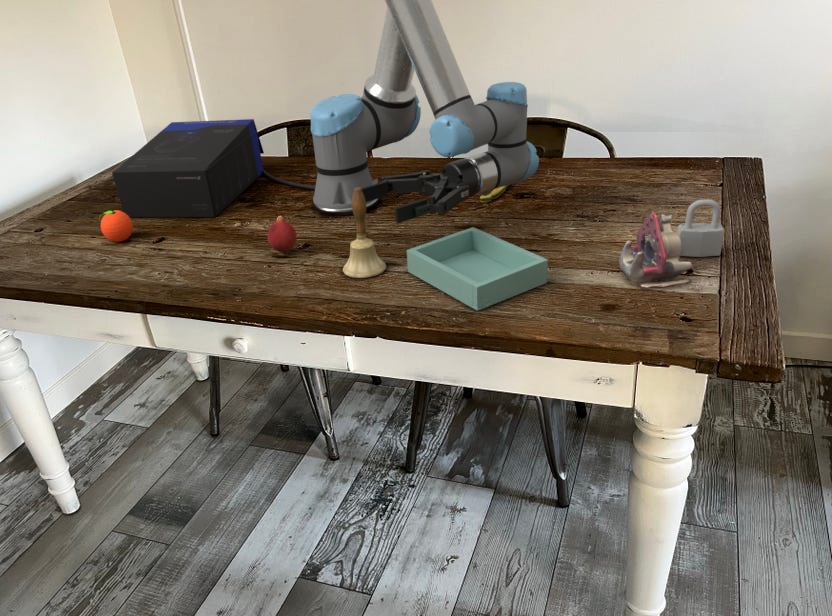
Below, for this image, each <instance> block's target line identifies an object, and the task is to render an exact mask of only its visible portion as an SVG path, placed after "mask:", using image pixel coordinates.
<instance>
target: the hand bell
mask: <svg viewBox="0 0 832 616" xmlns="http://www.w3.org/2000/svg"><path fill="white" fill-rule="evenodd" d="M352 209H353V214H352V215H353V216H354V218H355V223H356V239H355V240H352V241H351V242H350V244H349V245H350V246H349V248H350V249H349V258H348V260H347V262H346V263H345V264H344V265H343V268H342V272H343V274H344V275H345V276H348V277H350V278H355V279H366V278H372V277H376V276H379V275H380V274H382V273H384V272H385V271H386V269H387V265H386V263H385V261H383V259H381V258H380V257H379V256H378V255H379V254H378V253H377V251H376V246H375V242H374V240H373V239H370V238H368V237H367V234H366V233H367V232H366V223H365V221H366V214H367V211H366V200H365V197H364V195H363V192H362V189H361V187H356V188H354V193H353V197H352Z"/></svg>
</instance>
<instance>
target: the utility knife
mask: <svg viewBox="0 0 832 616" xmlns="http://www.w3.org/2000/svg"><path fill="white" fill-rule="evenodd" d="M509 186H510V185H506V186H503V187H500V188H496V189H493V190H490V191H487V192H484V193H483V194H482V195H480V196H479V202H480V203H490V202H492V200H495V199H497V198H499V197H500V196H501V195H502V194H503V193H504V192H505V191H506V189H507V188H508V187H509Z"/></svg>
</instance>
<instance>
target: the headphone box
mask: <svg viewBox="0 0 832 616" xmlns="http://www.w3.org/2000/svg"><path fill="white" fill-rule="evenodd" d="M263 154H265V151H264V148H263V145H262V142H261V139H260V135H259V131H258V129H257V125H256V122H255V119H254V118H250V119H249V118H247V119H244V118H243V119H223V120H222V119H221V120H220V119H219V120H218V119H217V120H198V121H197V120H195V121H193V120H191V121H172V122H169V124H168V125H167V126H165V127H164V128H163V129H162V130H160V131H159V132H158V133H157V134H156V135H155V136H153V138H151V139H150V140H149V141H148V142H147V143H145V144H144V145H142V147H141V148H140V149H138V150H137V151H136V152H135V153H133V154H132V156H130V157H129V158H128V159H126V161H125V162H123V163H122V164H121V165H120V166H118V167H117V168H116V169H114V170H112V171H111V174H112V177H113V181H114V185H115V189H116V192H117V195H118V199H119V203H120V206H121V210H122V212H124V213H126V214H127V215H128V216H129V217H130V218H215V217H217V216H218V215H220V213H222V212H223V211H224V210H225V209H226V208H227V207H228V206H229V205H231V203H232V202H233V201H235V200H236V199H237V198H238V197H239V196H240V195H241V194H242V193H244V191H245V190H247V189H248V187H250V186H251V185H252V184H253V183H254V182H255V181H256V180H257V179H258V178H259V177H261V176H262V175H264V174H263V173H262V170H263V169H264V167H263V160H262V155H263Z"/></svg>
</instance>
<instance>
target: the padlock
mask: <svg viewBox="0 0 832 616" xmlns="http://www.w3.org/2000/svg"><path fill="white" fill-rule="evenodd" d="M700 207H710V208H711V209H712V218H711V222H710V223H707V222H704V223H701V222H699V223H698V222H697V223H693V220H694V215H695V212H696V209H697V208H700ZM720 216H721V206H720V204H719V203H718V202H717V201H716V200H714V199H706V198H705V199H699V200H694V202H692V203H691V204H690V205H689V207H687V211H686V217H685V224H684V223H683V224H682V223H681V224H678V226H677V232H676V233H677V234H678V235H679V237H680V239H681V242H682V252H681V255H680V257H691V258H694V257H695V258H706V257H715V256H716V257H718V256H721V253H722V248H723V242H724V236H725V229H724V227H723V224H721V223H719V222H720Z"/></svg>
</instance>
